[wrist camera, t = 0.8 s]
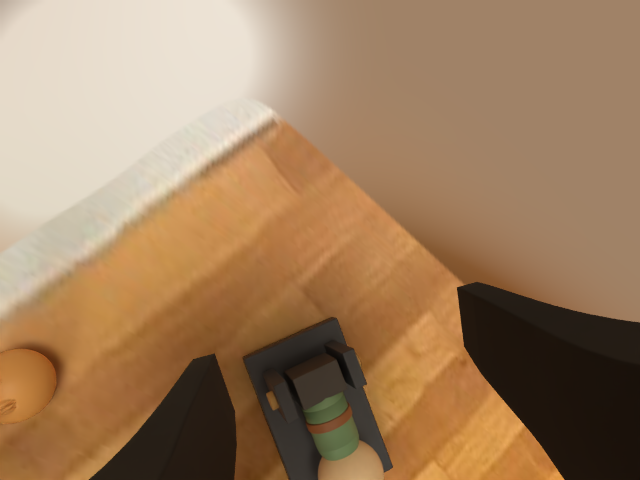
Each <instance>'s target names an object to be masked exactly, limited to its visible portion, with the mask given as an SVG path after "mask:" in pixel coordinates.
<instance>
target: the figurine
mask: <svg viewBox="0 0 640 480" xmlns="http://www.w3.org/2000/svg"><path fill="white" fill-rule="evenodd" d="M55 388H56V372H55V369H54V367H53V365H52V363H51V362H50V361H49V360H48V359H47V358H46V357H45V356H44V355H42V354H40V353H38V352H36V351H33V350H29V349H13V350H8V351H5V352H2V353H0V423H1V424H11V423H17V422H21V421H24V420H27V419H29V418H31V417H33V416H34V415H36V414H37V413H39V412H40V411H41V410H42V409H43V408H44V407H45V406H46V405H47V404H48V402H49V401H50V400H51V398H52V396H53V394H54V391H55Z"/></svg>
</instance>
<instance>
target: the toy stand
mask: <svg viewBox="0 0 640 480" xmlns="http://www.w3.org/2000/svg"><path fill="white" fill-rule="evenodd" d="M322 353H326V354H328V355H330V356H332V357H333V358H335V359H337V362H338V364H339V367H340V369H341V372H342V375H343V377H344V380H345V383H346V385H347V389H346V390H344V391H343V393H344V396H345V398H346V401H347V402H348V403H349V404H350V407H351V410H352V417H353V419H354V422H355V425H356V427H357V430H358V434H359V440H361V441H363V442H365V443H366V444H368V445H369V446H371V447H372V448H373V449H374V451H375V452H376V453H377V454H378V456H379V458H380V460H381V462H382V466H383V470H384V472H386V471H388V470H390V469H391V468H393V466H392V463H391V460H390V458H389V455H388V452H387V450H386V447H385V444H384V442H383V439H382V437H381V434H380V431H379V429H378V426H377V423H376V421H375V418H374V415H373V413H372V410H371V407H370V405H369V402H368V399H367V397H366V394H365V391H364V389H363V386H364V385H366V384H367V383H366V380H365V377H364V375H363V372H362V370H361V361H360V359H359V357H358V355H357V354H356V353H355V351H354V349H353V348H351V347H349V346H347V344H346V341H345V338H344V336H343V333H342V331H341V328H340V325H339V323H338V320H337V318H334V317H331V318H329V319H327V320H325V321H322V322H320V323H318V324H316V325H313V326H311V327H309V328H307V329H304V330H302V331H300V332H298V333H296V334H293V335H291V336H289V337H287V338H284V339H282V340H280V341H278V342H275V343H273V344H271V345H269V346H266V347H264V348H262V349H260V350H257V351H255V352H253V353H251V354H248V355H246V356H244V357H243V361H244V363H245V366H246V369H247V371H248V374H249V376H250V379H251V382H252V384H253V387H254V389H255V392H256V395H257V397H258V400H259V402H260V405H261V408H262V410H263V413H264V415H265V418H266V421H267V423H268V426H269V428H270V431H271V434H272V436H273V439H274V441H275V444H276V447H277V449H278V452H279V454H280V457H281V460H282V462H283V465H284V467H285V470H286V473H287V475H288V478H289V480H318V467H319V463H320V460H321V458H322V455H321V454H320V453H319V451H318V449H317V447H316V445H315V442H314V439H313V437H312V434H311V433H310V432H309V431H308V428H307V426H306V423H305V419H306V418H305V416H304V413H303V411H302V408H301V407H300V405H299V404H298V403H297V402H296V401H295V400H294V398H293V395H292V393H291V390H290V387H289V385H288V382H287V379H286V377H285V374H284V371H286V370H288V369H290V368H292V367H294V366H296V365H298V364H301V363H303V362H305V361H307V360H309V359H311V358H313V357H315V356H318V355H320V354H322Z"/></svg>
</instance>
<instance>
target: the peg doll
mask: <svg viewBox="0 0 640 480" xmlns="http://www.w3.org/2000/svg"><path fill="white" fill-rule="evenodd" d="M284 374H285V377H286V379H287V382H288V385H289V387H290V390H291V393H292V395H293V398H294V400H295V401H296V402H297V403H298V404H299V405H300V407H301V408H302V411H303V413H304V416H305V418H306V419H305V423H306V426H307V428H308V431H309V432H310V433H311V434H312V437H313V439H314V442H315V445H316V447H317V449H318V451H319V453H320V454H321V455H322V458H321V460H320V463H319V467H318V480H384V470H383V466H382V462H381V460H380V458H379V456H378V454H377V453H376V452H375V451H374V449H373V448H372V447H371V446H369V445H368V444H366V443H365V442H363V441H361V440H359V434H358V430H357V427H356V425H355V422H354V419H353V417H352V410H351V407H350V404H349V403H348V402H347V401H346V398H345V396H344V393H343V391H344V390H346V389H347V385H346V383H345V380H344V377H343V375H342V372H341V369H340V367H339V364H338V362H337V359H335V358H333V357H332V356H330V355H328V354H326V353H322V354H320V355H318V356H315V357H313V358H311V359H309V360H307V361H305V362H303V363H301V364H298V365H296V366H294V367H292V368H290V369H288V370H286V371H284Z"/></svg>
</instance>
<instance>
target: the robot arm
mask: <svg viewBox="0 0 640 480" xmlns="http://www.w3.org/2000/svg"><path fill="white" fill-rule="evenodd" d="M457 292H458V300H459V308H460V316H461V324H462V332H463V341H464V347H465V348H466V350H467V352H468V353H469V355H470V357H471V358H472V360H473V362H474V363H475V365H476V366H477V368H478V369H479V371H480V372H481V374H482V375H483V376H484V378H485V379H486V380H487V381H488V382H489V384H490V385H491V386H492V387H493V388H494V390H495V391H496V392H497V393H498V394H499V396H500V397H501V398H502V399H503V400H504V401H505V403H506V404H507V405H508V406H509V407H510V408H511V410H512V411H513V412H514V413H515V414H516V415H517V417H518V418H519V419H520V420H521V421H522V423H523V424H524V425H525V426H526V427H527V428H528V430H529V431H530V432H531V433H532V435H533V436H534V437H535V438H536V440H537V441H538V442H539V443H540V445H541V446H542V448H543V449H544V450H545V452H546V453H547V455H548V456H549V458H550V459H551V461H552V462H553V464H554V465H555V466H556V468H557V469H558V471H559V472H560V474H561V475H562V477H563V478H564V480H640V323H639V322H631V321H624V320H617V319H611V318H607V317H602V316H596V315H590V314H586V313H582V312H577V311H573V310H569V309H565V308H562V307H558V306H554V305H551V304H547V303H544V302H540V301H537V300H534V299H531V298H527V297H524V296H521V295H518V294H515V293H512V292H509V291H506V290H503V289H500V288H497V287H493V286H490V285H486V284H483V283H479V282H475V283H471V284H468V285H464V286H460V287H457ZM236 446H237V441H236V422H235V410H234V407H233V405H232V402H231V399H230V396H229V393H228V390H227V387H226V385H225V382H224V379H223V376H222V373H221V370H220V367H219V365H218V362H217V359H216V356H215V353H214V354H211V355H207V356H203V357H200V358H196V359H193V360H192V361H191V363H190V364H189V365H188V367H187V368H186V369H185V371H184V372H183V374H182V375H181V376H180V378H179V379H178V381H177V382H176V383H175V385H174V386H173V387H172V389H171V390H170V391H169V393H168V394H167V396H166V397H165V398H164V400H163V401H162V402H161V404H160V405H159V406H158V407H157V409H156V410H155V411H154V412H153V413H152V415H151V416H150V417H149V418H148V420H147V421H146V422H145V423H144V424H143V426H142V427H141V428H140V429H139V430H138V432H137V433H136V434H135V435H134V436H133V437H132V438H131V439H130V441H129V442H128V443H127V444H126V445H125V446H124V447H123V448H122V449H121V450H120V451H119V452H118V453H117V454H116V455H115V456H114V457H113V458H112V459H111V460H110V461H109V462H108V463H107V464H106V465H105V466H104V467H103V468H102V469H100V470H99V471H98V472H97V473H96V474H95V475H94V476H93V477H91V478H90V479H89V480H234V474H235V461H236Z"/></svg>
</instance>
